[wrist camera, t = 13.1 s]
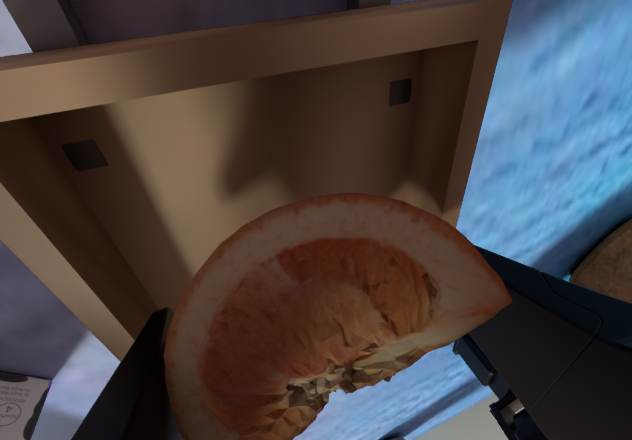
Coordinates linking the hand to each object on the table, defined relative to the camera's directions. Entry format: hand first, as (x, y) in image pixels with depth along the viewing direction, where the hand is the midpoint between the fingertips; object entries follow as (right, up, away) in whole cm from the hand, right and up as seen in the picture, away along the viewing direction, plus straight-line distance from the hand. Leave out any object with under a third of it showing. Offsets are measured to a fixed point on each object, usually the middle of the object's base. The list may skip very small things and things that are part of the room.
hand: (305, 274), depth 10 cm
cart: (-2, +2, +4) cm, 5 cm away
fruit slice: (-1, +1, +1) cm, 1 cm away
